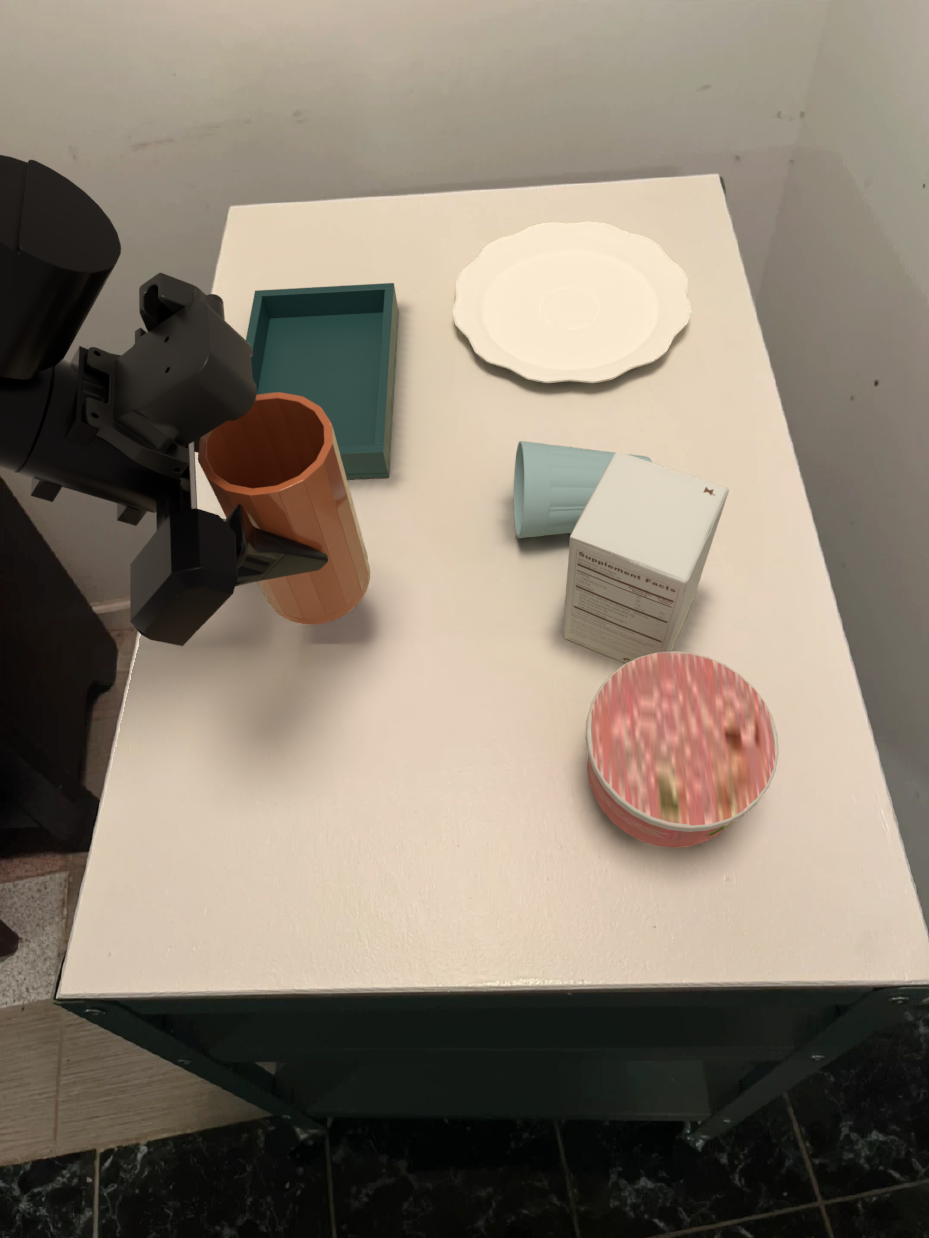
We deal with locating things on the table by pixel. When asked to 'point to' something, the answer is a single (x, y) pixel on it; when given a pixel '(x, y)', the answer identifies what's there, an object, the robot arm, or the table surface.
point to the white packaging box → (638, 557)
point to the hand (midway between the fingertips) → (317, 512)
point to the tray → (333, 362)
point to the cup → (554, 486)
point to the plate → (571, 302)
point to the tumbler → (292, 500)
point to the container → (678, 748)
